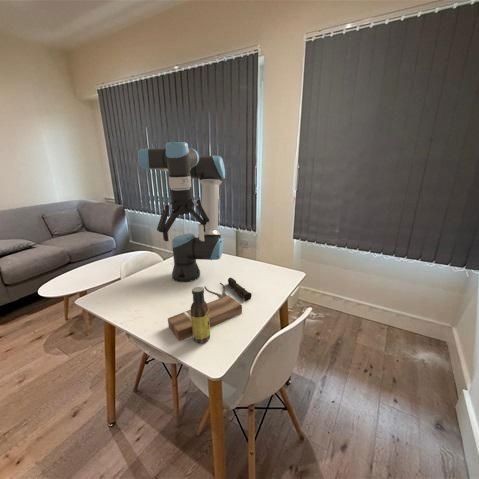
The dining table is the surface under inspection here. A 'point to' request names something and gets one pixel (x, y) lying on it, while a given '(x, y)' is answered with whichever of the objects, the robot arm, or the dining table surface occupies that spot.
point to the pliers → (217, 293)
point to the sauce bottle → (200, 316)
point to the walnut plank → (217, 314)
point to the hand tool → (239, 289)
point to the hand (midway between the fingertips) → (186, 244)
